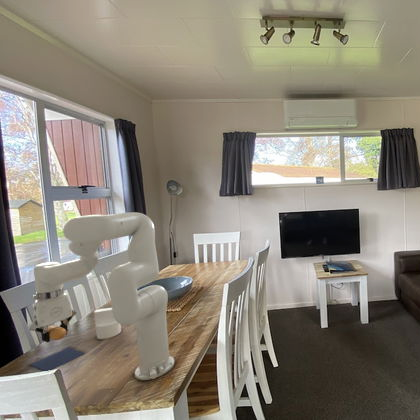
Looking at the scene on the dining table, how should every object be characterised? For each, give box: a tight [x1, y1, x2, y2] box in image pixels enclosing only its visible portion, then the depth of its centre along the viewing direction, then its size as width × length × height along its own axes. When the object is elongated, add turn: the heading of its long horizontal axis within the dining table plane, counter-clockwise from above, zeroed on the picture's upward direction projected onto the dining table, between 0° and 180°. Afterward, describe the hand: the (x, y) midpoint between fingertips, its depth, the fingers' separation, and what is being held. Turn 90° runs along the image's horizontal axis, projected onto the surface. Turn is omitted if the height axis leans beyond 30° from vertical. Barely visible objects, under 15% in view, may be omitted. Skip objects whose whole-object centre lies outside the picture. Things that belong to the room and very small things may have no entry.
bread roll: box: [47, 324, 67, 341], centre depth 107 cm, size 9×5×5 cm, turn 68°
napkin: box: [30, 347, 85, 372], centre depth 108 cm, size 12×12×1 cm
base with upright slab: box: [93, 307, 122, 340], centre depth 126 cm, size 9×9×12 cm
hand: (55, 337), depth 108 cm, fingers closed on bread roll, 4 cm apart
